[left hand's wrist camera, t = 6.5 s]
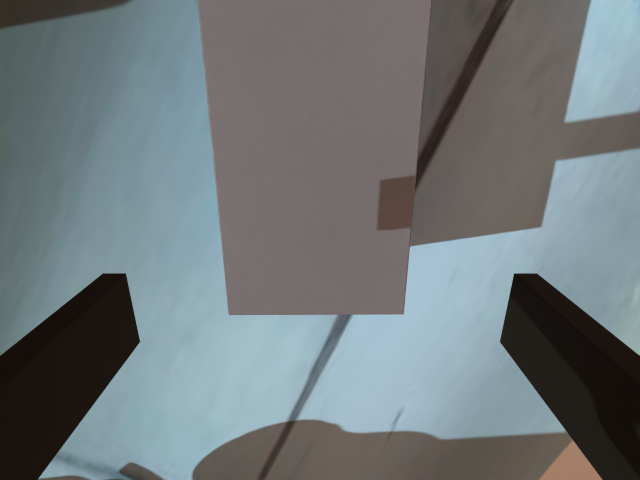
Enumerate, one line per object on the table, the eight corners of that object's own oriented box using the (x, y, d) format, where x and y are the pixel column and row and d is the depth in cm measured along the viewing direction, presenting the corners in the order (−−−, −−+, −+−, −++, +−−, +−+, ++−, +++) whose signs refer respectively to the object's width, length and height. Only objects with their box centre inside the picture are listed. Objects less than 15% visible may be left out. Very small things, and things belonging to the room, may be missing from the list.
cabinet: (240, 33, 25) (196, -9, 16) (390, 33, 25) (433, -9, 16) (255, 251, 31) (228, 315, 22) (377, 251, 31) (403, 314, 22)
